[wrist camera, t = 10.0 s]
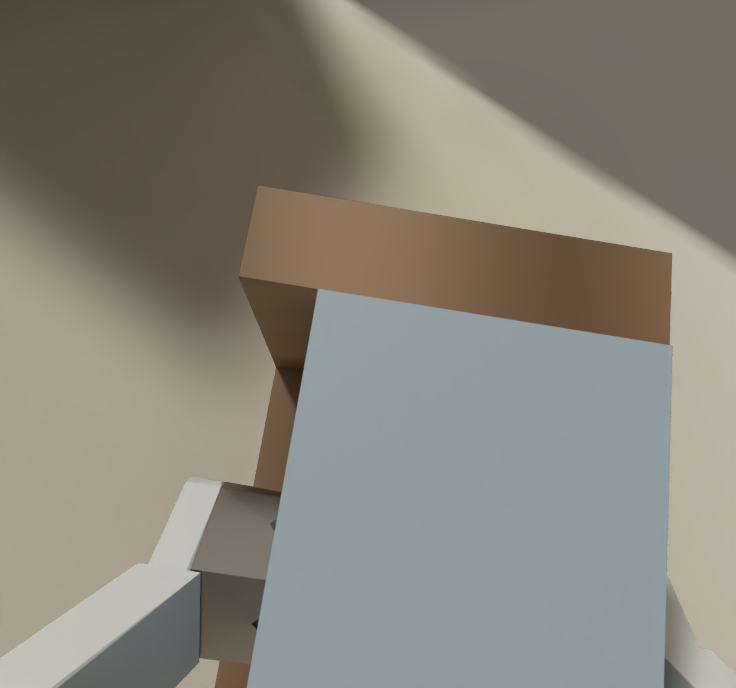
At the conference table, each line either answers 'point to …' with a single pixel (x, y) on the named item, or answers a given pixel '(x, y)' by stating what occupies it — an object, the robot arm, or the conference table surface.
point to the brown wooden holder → (425, 288)
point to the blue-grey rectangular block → (469, 506)
